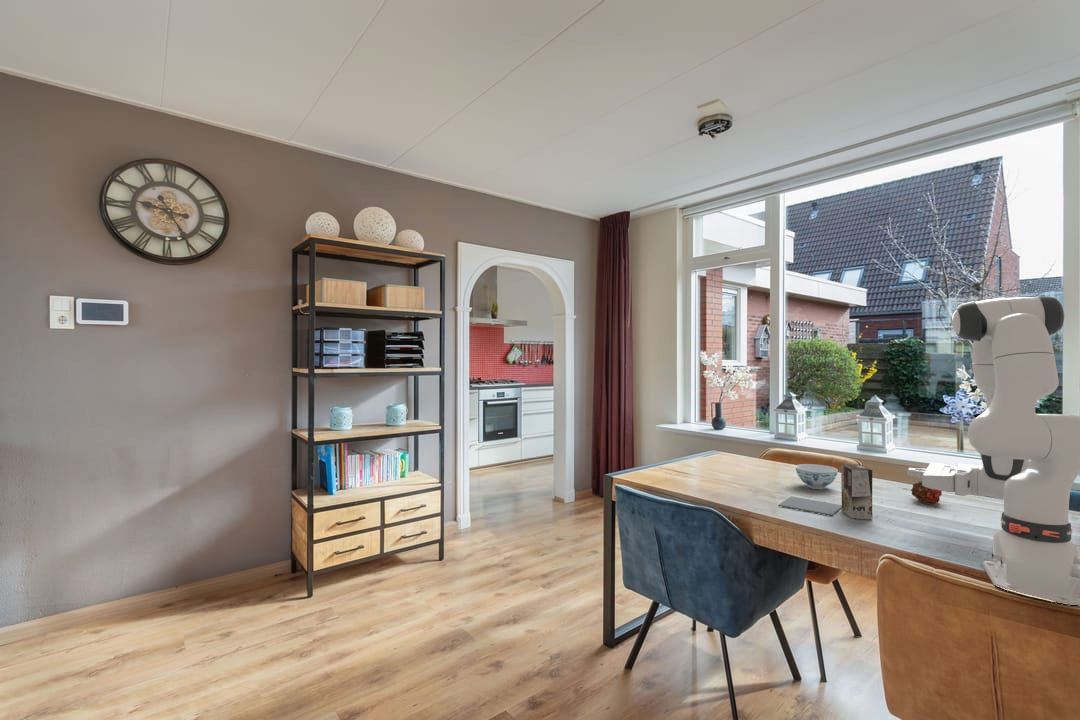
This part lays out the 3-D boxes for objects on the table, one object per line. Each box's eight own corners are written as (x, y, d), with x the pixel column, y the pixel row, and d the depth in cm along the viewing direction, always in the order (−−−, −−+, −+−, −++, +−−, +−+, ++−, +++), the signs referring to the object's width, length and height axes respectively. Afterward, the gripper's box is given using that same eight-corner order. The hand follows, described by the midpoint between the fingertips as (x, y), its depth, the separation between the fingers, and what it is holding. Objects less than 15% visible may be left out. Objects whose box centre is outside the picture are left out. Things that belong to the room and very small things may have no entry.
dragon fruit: (923, 510, 178) (924, 507, 188) (948, 498, 175) (947, 496, 184) (905, 488, 182) (907, 486, 192) (930, 476, 179) (930, 475, 188)
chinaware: (825, 482, 212) (824, 464, 212) (845, 492, 197) (845, 472, 197) (788, 482, 212) (788, 464, 212) (806, 492, 197) (806, 472, 197)
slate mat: (832, 516, 168) (832, 514, 168) (778, 506, 179) (778, 504, 179) (843, 507, 178) (843, 505, 178) (791, 498, 189) (791, 496, 189)
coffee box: (873, 519, 164) (873, 470, 164) (851, 518, 165) (851, 469, 165) (861, 511, 173) (861, 464, 173) (840, 510, 174) (840, 463, 174)
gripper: (967, 461, 158) (912, 455, 167) (962, 475, 143) (902, 467, 152) (967, 481, 158) (912, 474, 167) (962, 497, 143) (902, 488, 152)
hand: (907, 471), depth 160 cm, fingers closed
